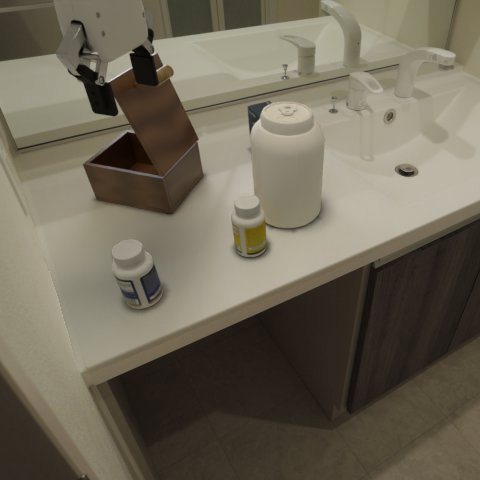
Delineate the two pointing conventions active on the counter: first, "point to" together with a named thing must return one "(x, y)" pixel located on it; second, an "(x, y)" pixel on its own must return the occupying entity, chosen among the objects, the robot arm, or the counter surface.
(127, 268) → the pill bottle
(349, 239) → the counter surface
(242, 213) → the supplement bottle
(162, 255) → the counter surface
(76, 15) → the robot arm
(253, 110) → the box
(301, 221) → the white canister
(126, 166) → the chest
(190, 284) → the counter surface
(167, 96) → the lid
